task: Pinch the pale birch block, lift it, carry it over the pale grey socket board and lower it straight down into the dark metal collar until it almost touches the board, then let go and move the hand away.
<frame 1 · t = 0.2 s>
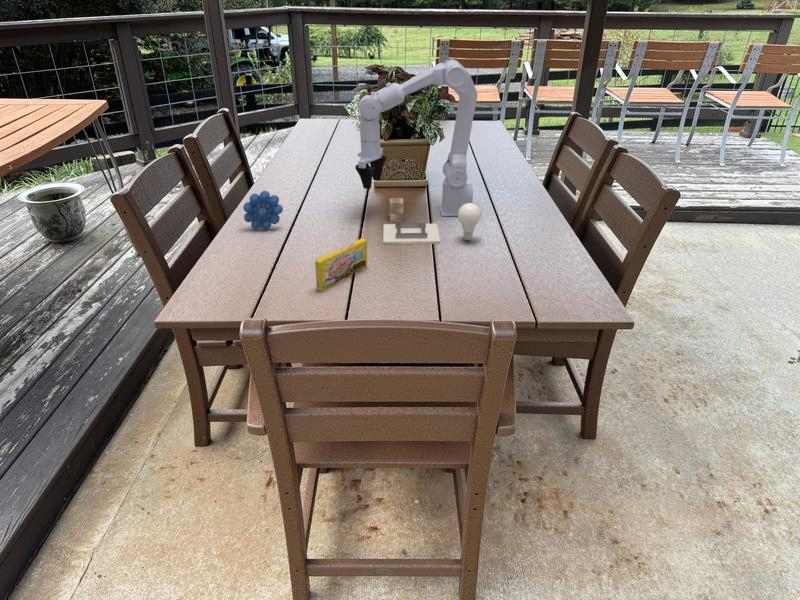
hand: (372, 184, 166), 10 cm above the table, tool pointing down, fingers open, 7 cm apart
candy box: (343, 279, 137), on the table
lightbulb: (467, 240, 155), on the table
blue knobbed flower: (266, 228, 163), on the table
birch block: (396, 218, 169), on the table
socket board: (411, 234, 158), on the table
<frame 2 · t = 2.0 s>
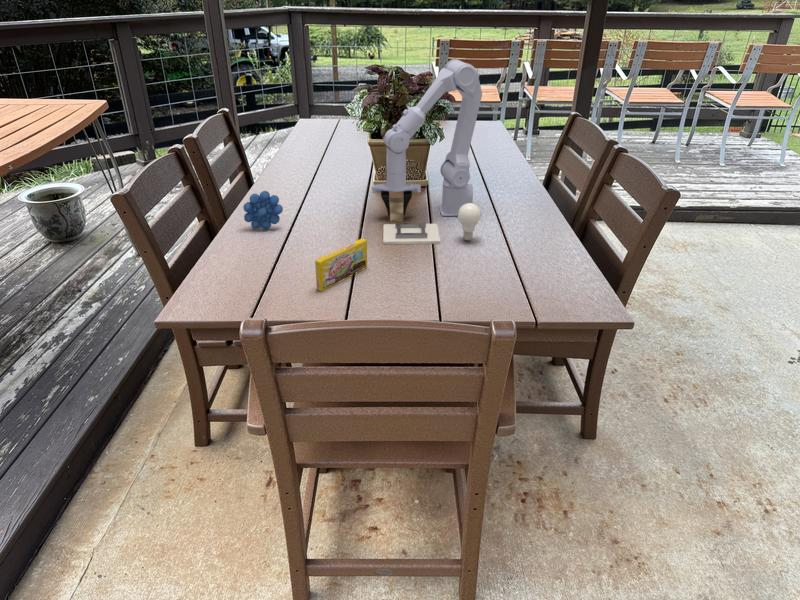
hand: (396, 214, 168), 1 cm above the table, tool pointing down, fingers closed on birch block, 4 cm apart
birch block: (396, 218, 169), on the table, touching gripper
everything else where it was.
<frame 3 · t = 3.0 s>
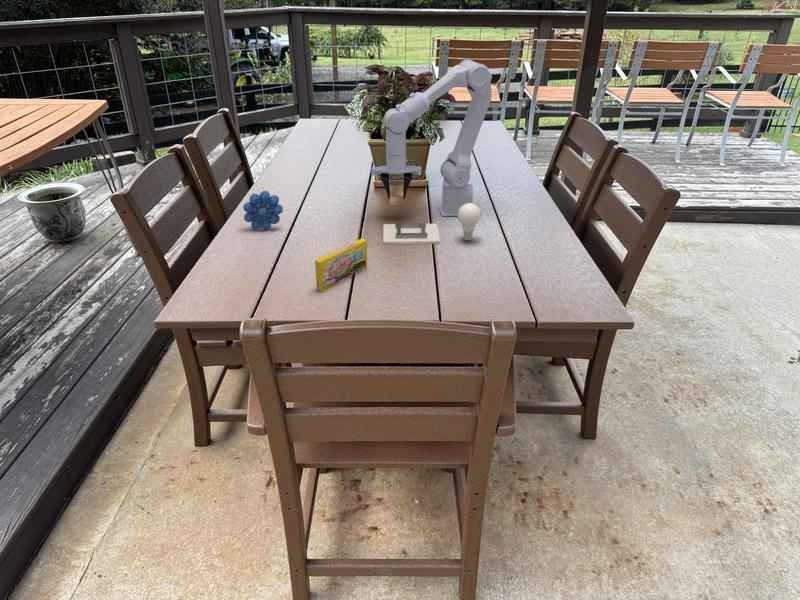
hand: (396, 197, 165), 7 cm above the table, tool pointing down, fingers closed on birch block, 4 cm apart
birch block: (396, 202, 166), point 5 cm above the table, touching gripper
everything else where it was.
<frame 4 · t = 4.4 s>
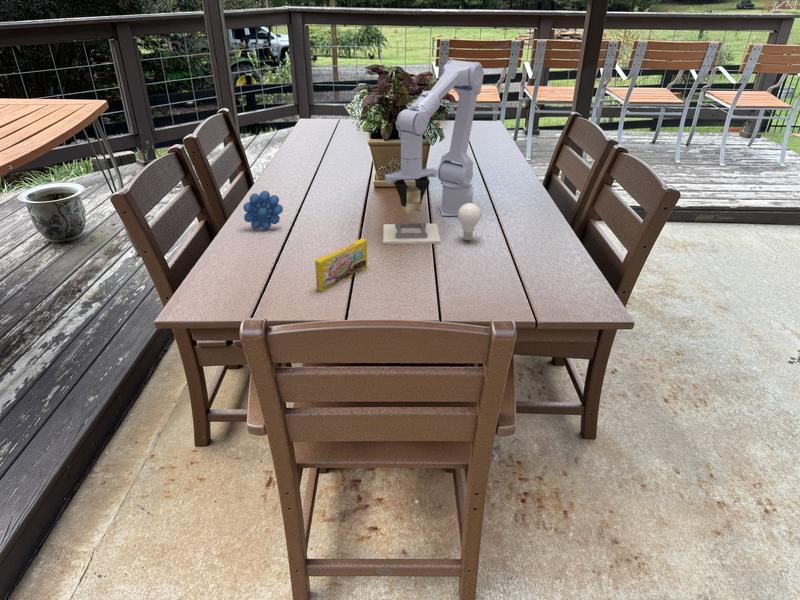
hand: (411, 204, 153), 9 cm above the table, tool pointing down, fingers closed on birch block, 4 cm apart
birch block: (410, 209, 154), point 8 cm above the table, touching gripper
everything else where it was.
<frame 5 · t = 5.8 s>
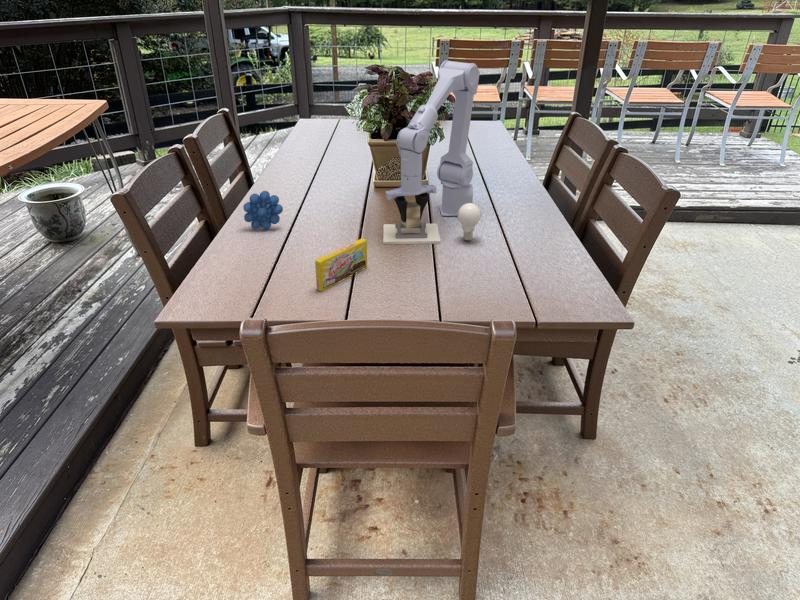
hand: (411, 219, 156), 5 cm above the table, tool pointing down, fingers closed on birch block, 4 cm apart
birch block: (410, 224, 157), point 3 cm above the table, touching gripper
everything else where it was.
when the fingers open (3 cm above the table, at t = 6.7 s): birch block stays where it is, resting on socket board.
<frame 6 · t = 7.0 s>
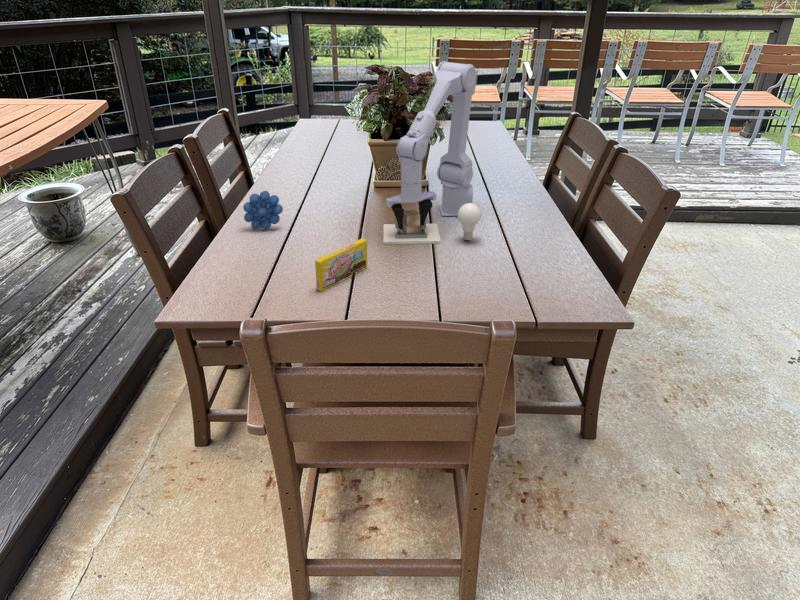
hand: (411, 226, 157), 3 cm above the table, tool pointing down, fingers open, 6 cm apart
birch block: (410, 232, 158), point 1 cm above the table, touching socket board
everything else where it was.
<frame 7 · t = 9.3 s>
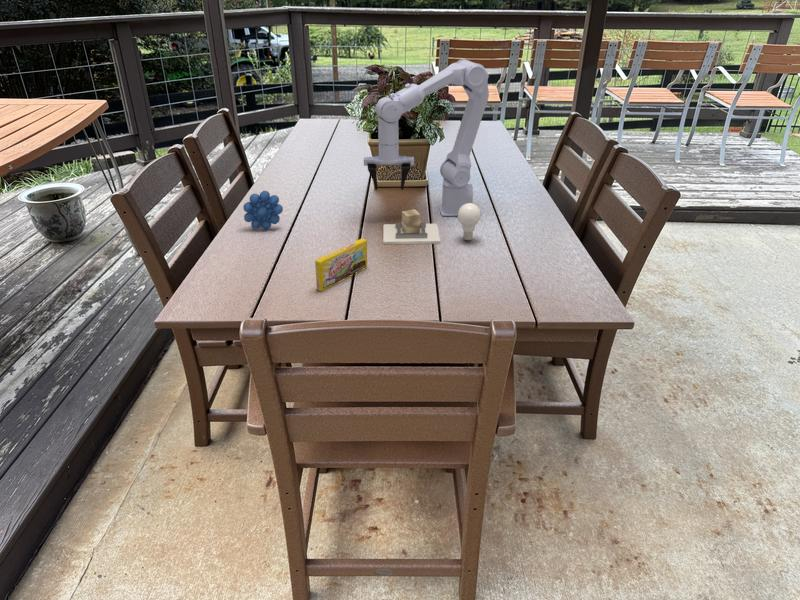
hand: (389, 188, 162), 10 cm above the table, tool pointing down, fingers open, 7 cm apart
nothing on the table moved.
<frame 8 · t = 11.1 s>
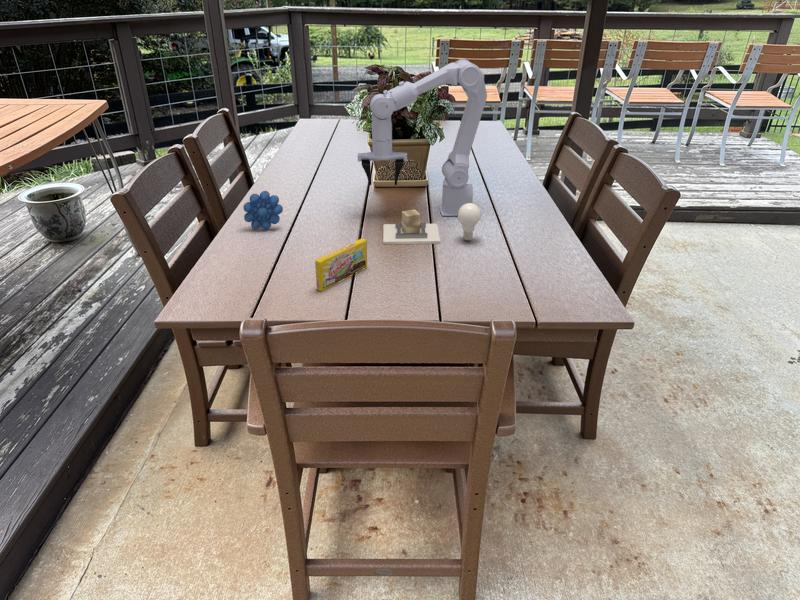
hand: (383, 184, 165), 10 cm above the table, tool pointing down, fingers open, 7 cm apart
nothing on the table moved.
at the end: birch block 0.2 cm off-centre on the socket board, point 0.8 cm above the socket board's base; birch block tilted 0°; the gripper is holding nothing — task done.
